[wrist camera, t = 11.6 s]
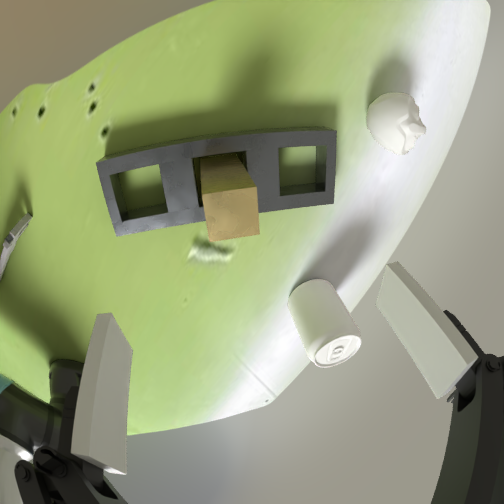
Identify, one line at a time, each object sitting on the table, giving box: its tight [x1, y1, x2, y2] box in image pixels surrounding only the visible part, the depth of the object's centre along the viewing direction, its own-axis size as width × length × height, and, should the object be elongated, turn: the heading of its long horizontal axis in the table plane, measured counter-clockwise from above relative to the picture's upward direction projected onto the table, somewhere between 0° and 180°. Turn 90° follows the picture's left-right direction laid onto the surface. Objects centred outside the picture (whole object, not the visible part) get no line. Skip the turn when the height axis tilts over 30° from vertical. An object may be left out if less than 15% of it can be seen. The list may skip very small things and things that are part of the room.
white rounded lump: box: [366, 92, 426, 155], centre depth 26 cm, size 8×8×8 cm
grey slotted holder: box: [96, 127, 337, 236], centre depth 29 cm, size 9×26×3 cm, turn 94°
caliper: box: [0, 213, 32, 281], centre depth 27 cm, size 20×1×6 cm, turn 126°
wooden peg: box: [200, 153, 260, 242], centre depth 25 cm, size 4×4×12 cm
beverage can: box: [288, 279, 361, 367], centre depth 39 cm, size 8×8×12 cm
